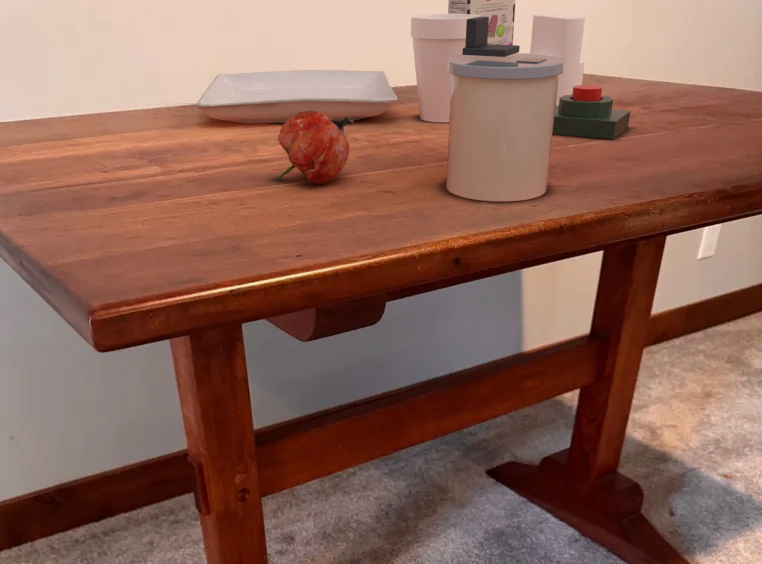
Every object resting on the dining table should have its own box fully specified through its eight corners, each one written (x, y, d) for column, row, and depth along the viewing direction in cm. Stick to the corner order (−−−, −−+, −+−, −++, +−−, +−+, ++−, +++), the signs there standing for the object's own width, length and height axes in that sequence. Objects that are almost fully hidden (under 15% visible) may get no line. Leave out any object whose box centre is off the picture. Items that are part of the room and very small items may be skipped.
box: (628, 128, 106) (632, 96, 104) (613, 139, 100) (618, 105, 98) (554, 121, 110) (557, 91, 108) (535, 132, 104) (538, 100, 102)
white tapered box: (508, 101, 125) (515, 15, 119) (556, 96, 128) (565, 13, 122) (541, 110, 117) (550, 20, 111) (592, 105, 120) (603, 17, 114)
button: (603, 100, 103) (605, 85, 103) (596, 104, 101) (598, 89, 100) (576, 98, 105) (577, 84, 104) (568, 102, 102) (569, 88, 101)
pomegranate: (283, 212, 82) (357, 155, 77) (241, 150, 81) (314, 89, 76) (309, 201, 88) (379, 147, 84) (271, 143, 87) (340, 86, 82)
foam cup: (489, 117, 113) (496, 15, 106) (445, 127, 107) (450, 20, 101) (439, 109, 119) (442, 12, 112) (395, 118, 114) (396, 16, 107)
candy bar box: (489, 84, 140) (496, -22, 131) (510, 87, 136) (519, -22, 128) (443, 91, 134) (447, -20, 125) (464, 94, 130) (470, -19, 122)
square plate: (219, 96, 132) (217, 71, 130) (384, 93, 132) (384, 68, 130) (197, 129, 108) (194, 98, 106) (398, 125, 109) (398, 95, 107)
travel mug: (563, 181, 82) (579, 54, 76) (530, 208, 74) (544, 68, 68) (466, 170, 87) (473, 49, 81) (424, 194, 79) (429, 62, 73)
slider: (519, 52, 76) (522, 17, 74) (504, 57, 73) (507, 20, 71) (477, 50, 77) (479, 16, 76) (461, 55, 74) (463, 19, 73)
